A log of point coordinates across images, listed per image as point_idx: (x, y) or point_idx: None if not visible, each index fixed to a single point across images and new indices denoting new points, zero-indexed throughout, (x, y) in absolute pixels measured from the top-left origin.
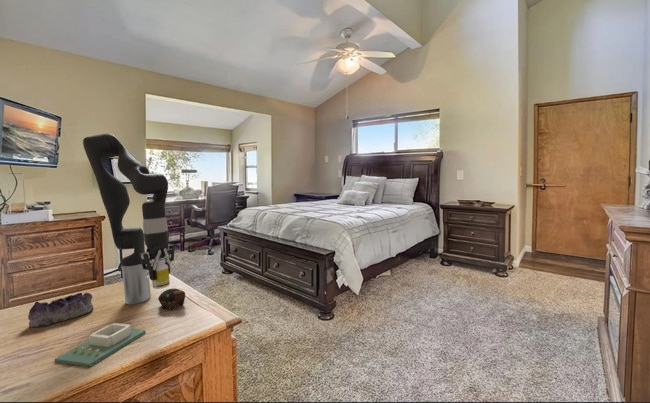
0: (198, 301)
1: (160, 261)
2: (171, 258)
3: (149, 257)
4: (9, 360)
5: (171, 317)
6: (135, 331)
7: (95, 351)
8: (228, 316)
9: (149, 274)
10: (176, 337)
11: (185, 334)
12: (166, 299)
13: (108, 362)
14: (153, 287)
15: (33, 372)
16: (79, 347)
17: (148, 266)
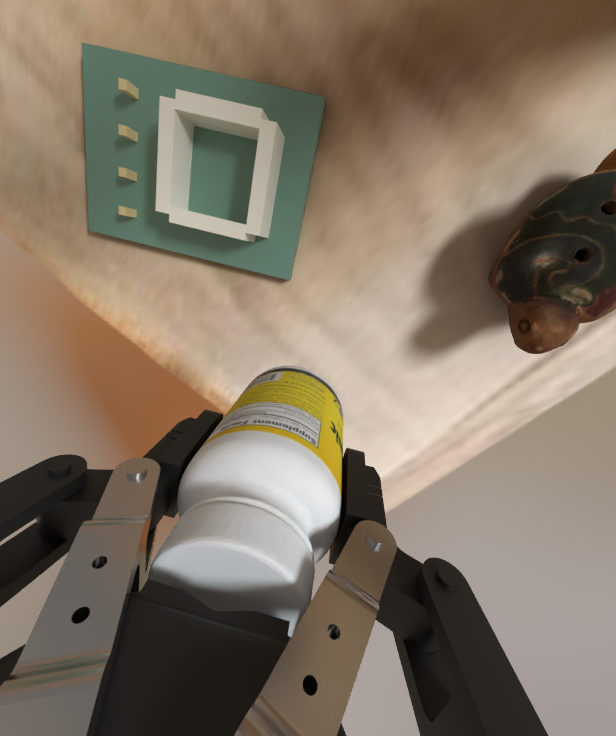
0: (574, 356)
1: None
2: (399, 648)
3: (49, 613)
4: None
5: (413, 312)
6: (280, 244)
7: (120, 207)
8: (387, 501)
9: (159, 443)
10: None
11: None
12: (515, 260)
13: (125, 274)
14: (248, 385)
15: (31, 29)
16: (157, 81)
17: (22, 550)
